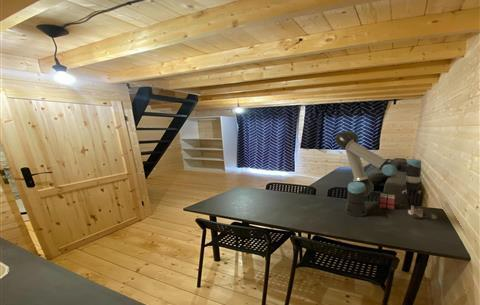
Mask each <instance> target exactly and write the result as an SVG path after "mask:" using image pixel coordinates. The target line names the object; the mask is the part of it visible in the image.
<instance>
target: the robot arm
mask: <svg viewBox="0 0 480 305" xmlns="http://www.w3.org/2000/svg"><path fill="white" fill-rule="evenodd" d="M358 140H359V135H358V134H357V133H356V132H355V131H352V130H348V131H347V130H346V131H341V132H339V133H337V134H336V136H335V140H334V141H335V142H336V143H335V144H337V146H339V147H340V148H342V149H343V150H345V151H346V156H347V158H348V163H349V165H350V169H351V172H352V175H353V179H352V181H351V182H349V183H348V184H347V201H346V205H345V206H344V207H345V208H344V212H345V213H346V214H347V215H349V216H354V217H361V218H362V217H366V216H367V214H368V211H367V208H366V205H365V201H366V200H365V199H366V198H365V197H367V196H369V195H370V194H371V193H373V191H374V184H373V182H372V181H370V178H369V177H368V176H367V175H366V172H365V169H364V166H363V163H362V160H364V161H366V162H367V163H368V164H371V165H372V166H374V167H375V168H377V169H378V170H380V171H381V172H382V174H383V175H385V176H386V177H390V176H394V175H396V174H397V173H398V172H399V173H406V174H405V175H406V176H405V180H406V181H405V189H404V190H403V191H401V194H402V196H403V201H404V204H405V205H407V209H408V212H407V213H408V214H409V215H410V216H414V215H413V212H414V209H415V207H416V206H417V205H419V203H420V200H421V197H422V195H423V193H424V191H422V190H420V187H421V174H422V173H421V172H422V160H420V159H415V158H413V159H412V158H409V159H407V160H406V161H400V160H393V159H392V160H386V159H385V158H384V157H381V156H380V155H378V154H377V153H375V152H373V151H371V150H369V149H367V147H364V146H362V145H361V144H359V142H358Z"/></svg>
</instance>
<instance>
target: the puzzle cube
mask: <svg viewBox="0 0 480 305" xmlns="http://www.w3.org/2000/svg"><path fill="white" fill-rule="evenodd" d="M378 203H379V204H378V208H379V210H380V209H381V210H383V209H384V208H385V209H392V210H395V207H396V206H395V205H396V195H395V194H389V193H388V194H387V193H382V192H381V193H380V195H379V202H378Z"/></svg>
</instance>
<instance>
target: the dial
mask: <svg viewBox="0 0 480 305" xmlns="http://www.w3.org/2000/svg"><path fill="white" fill-rule="evenodd" d="M406 210H407V211H406V212H407V213H408V208H407V209H406ZM423 215H424V209H423V208H415V209H414V212H413V215H412V216H417V217H418V218H420V219H423Z"/></svg>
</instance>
